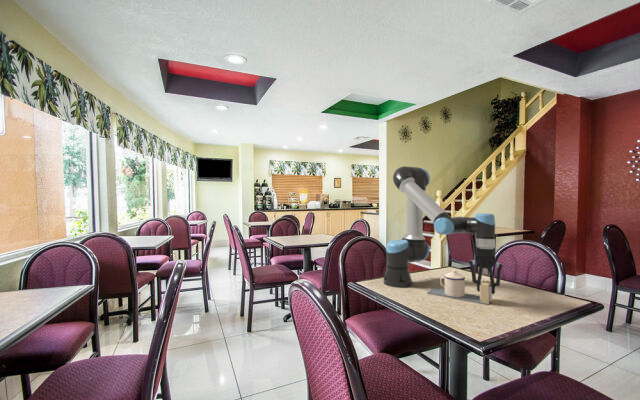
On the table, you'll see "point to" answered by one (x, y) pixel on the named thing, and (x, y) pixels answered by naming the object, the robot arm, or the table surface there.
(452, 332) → the table surface
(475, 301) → the runner
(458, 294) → the teacup with lid
